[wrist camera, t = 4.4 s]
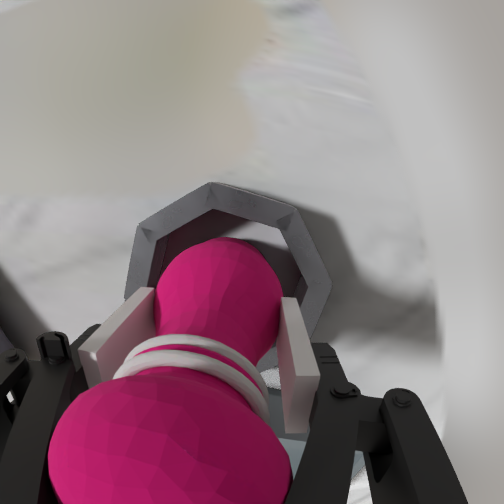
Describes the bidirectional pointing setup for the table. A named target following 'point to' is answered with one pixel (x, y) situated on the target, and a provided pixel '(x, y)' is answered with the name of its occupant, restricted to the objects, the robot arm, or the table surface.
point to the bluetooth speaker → (4, 342)
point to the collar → (243, 205)
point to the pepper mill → (185, 396)
